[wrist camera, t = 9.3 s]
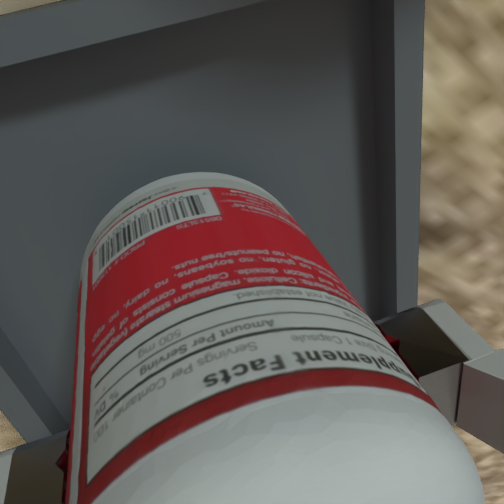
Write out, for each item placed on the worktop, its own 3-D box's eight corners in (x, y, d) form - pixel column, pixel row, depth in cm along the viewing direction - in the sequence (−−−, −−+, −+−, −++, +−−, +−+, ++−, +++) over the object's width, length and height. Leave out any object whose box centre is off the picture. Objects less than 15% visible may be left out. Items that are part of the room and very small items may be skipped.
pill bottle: (238, 363, 16) (423, 906, 7) (50, 325, 13) (-70, 1168, 4) (334, 209, 13) (807, 712, 4) (132, 123, 11) (299, 1002, 2)
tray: (-210, 65, 10) (-265, 82, 8) (385, -77, 12) (426, -82, 10) (62, 439, 18) (58, 482, 16) (392, 323, 19) (416, 353, 18)
